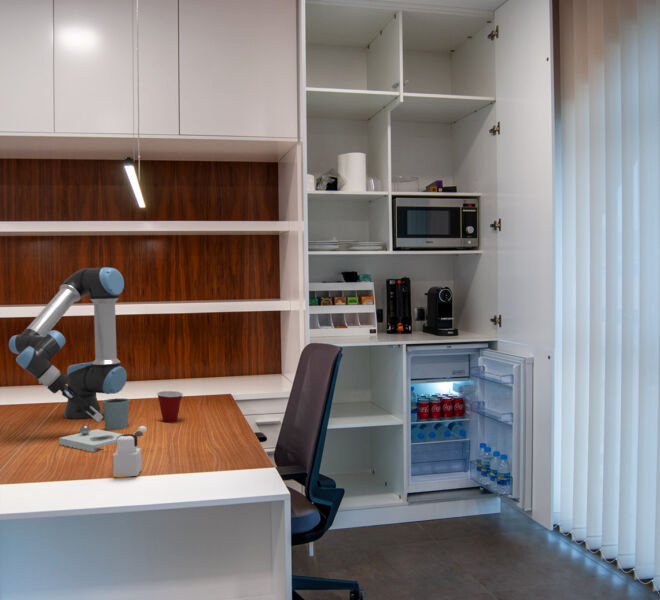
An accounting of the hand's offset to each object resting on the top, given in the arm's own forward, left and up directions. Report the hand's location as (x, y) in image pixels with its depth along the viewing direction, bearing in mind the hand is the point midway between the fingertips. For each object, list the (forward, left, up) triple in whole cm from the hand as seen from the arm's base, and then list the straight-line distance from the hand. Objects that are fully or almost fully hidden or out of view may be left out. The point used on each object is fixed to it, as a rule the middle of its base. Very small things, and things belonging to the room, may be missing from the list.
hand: (100, 419), depth 258 cm
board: (+14, -12, -5) cm, 19 cm away
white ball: (+18, +6, -3) cm, 19 cm away
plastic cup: (+8, +29, -5) cm, 30 cm away
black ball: (+22, +1, -4) cm, 22 cm away
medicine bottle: (+55, -30, -5) cm, 63 cm away
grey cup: (+3, +5, -5) cm, 8 cm away
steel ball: (+8, -12, -1) cm, 15 cm away
